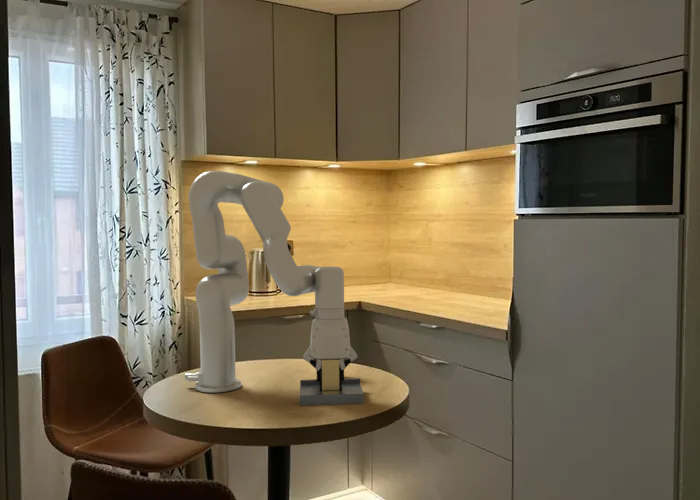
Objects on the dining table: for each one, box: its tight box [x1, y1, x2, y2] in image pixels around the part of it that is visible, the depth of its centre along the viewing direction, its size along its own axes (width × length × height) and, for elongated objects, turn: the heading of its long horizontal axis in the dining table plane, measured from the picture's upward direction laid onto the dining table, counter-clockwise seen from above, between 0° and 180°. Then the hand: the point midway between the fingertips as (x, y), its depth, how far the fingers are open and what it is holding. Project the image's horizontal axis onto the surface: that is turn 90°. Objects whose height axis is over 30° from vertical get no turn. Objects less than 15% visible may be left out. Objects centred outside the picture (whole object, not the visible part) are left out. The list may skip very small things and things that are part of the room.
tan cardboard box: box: [322, 359, 339, 392], centre depth 162 cm, size 4×4×9 cm
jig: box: [299, 377, 365, 406], centre depth 162 cm, size 16×12×4 cm
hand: (330, 383), depth 162 cm, fingers closed on tan cardboard box, 4 cm apart
